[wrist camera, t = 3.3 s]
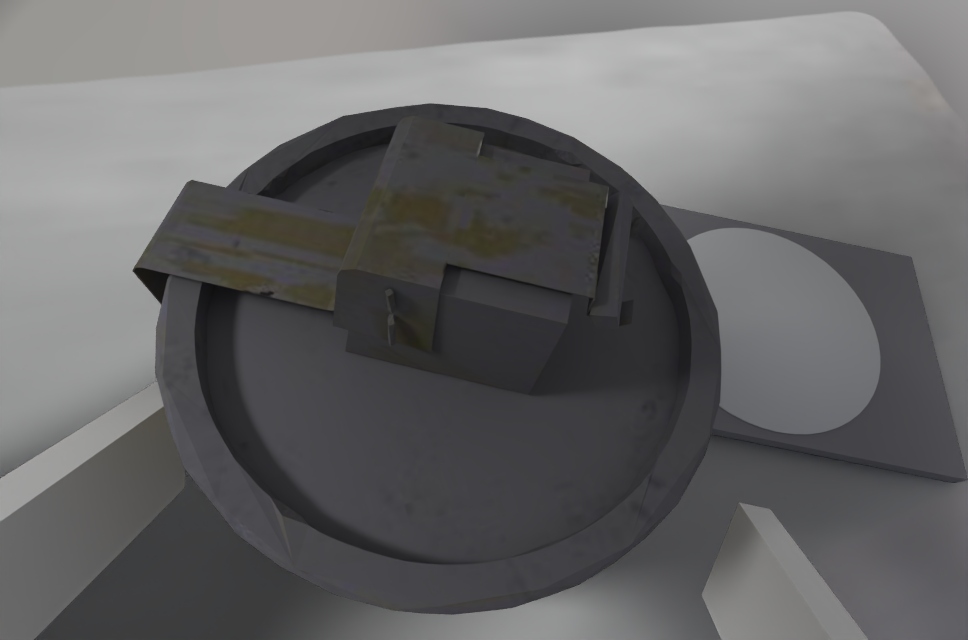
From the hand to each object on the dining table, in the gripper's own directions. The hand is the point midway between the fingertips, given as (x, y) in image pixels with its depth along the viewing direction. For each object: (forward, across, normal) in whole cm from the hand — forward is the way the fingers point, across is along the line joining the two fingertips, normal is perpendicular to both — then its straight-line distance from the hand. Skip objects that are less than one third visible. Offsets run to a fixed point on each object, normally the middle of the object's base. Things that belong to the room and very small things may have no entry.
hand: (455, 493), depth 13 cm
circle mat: (+20, +16, +2) cm, 25 cm away
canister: (+11, -1, -7) cm, 13 cm away
